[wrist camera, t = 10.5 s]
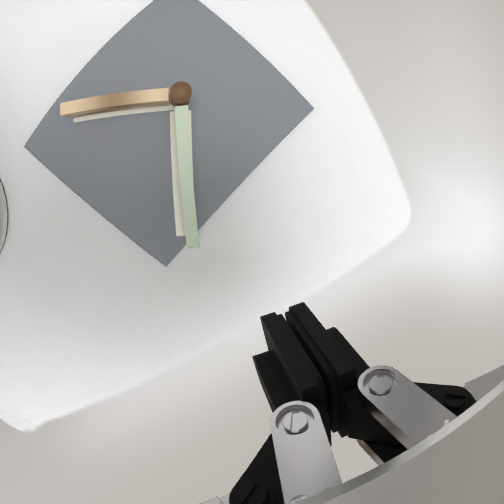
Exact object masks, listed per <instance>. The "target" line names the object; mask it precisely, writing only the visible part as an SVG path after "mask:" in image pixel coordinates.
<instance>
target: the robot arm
mask: <svg viewBox="0 0 504 504" xmlns="http://www.w3.org/2000/svg"><path fill="white" fill-rule="evenodd" d="M6 230H7V206H6V198H5V195H4V191H3V187H2V184H1V182H0V251H1V248H2V246H3V244H4V240H5V236H6ZM285 317H286V320H285V319H284V317H283V315H282V314H279V315H276V313H275V312H273V313H270V314H267V315H264V316H261V317H260V318H261V323H262V327H263V331H264V335H265V339H266V342H267V346H268V350H269V351H267V352H264V353H261V354H258V355H255V356H253V361H254V364H255V367H256V370H257V373H258V376H259V379H260V382H261V385H262V387H263V390H264V392H265V395H266V398H267V400H268V402H269V404H270V407H271V409H272V412H273V414H272V416H271V419H270V427H271V434H270V436H269V437H268V439H267V440H266V442H265V443H264V445H263V446H262V448H261V449H260V451H259V452H258V454H257V455H256V457H255V458H254V459H253V461H252V462H251V464H250V465H249V467H248V468H247V470H246V471H245V472H244V474H243V475H242V476H241V478H240V479H239V481H238V482H237V483H236V485H235V486H234V487H233V489H232V491H231V493H229V494H227V495H225V496H223V497H221V498H218V497H215V498H212V499H210V500H208V501H205V502H203V503H200V504H504V365H503V366H501V367H499V368H497V369H495V370H493V371H491V372H489V373H487V374H484V375H482V376H480V377H478V378H476V379H474V380H471V381H469V382H467V383H465V385H464V387H459V386H451V385H438V384H426V383H416V382H412V381H411V380H409V379H408V378H407V377H406V376H404V375H403V374H402V373H400V372H399V371H398V370H396V369H394V368H393V367H389V366H375V367H371V368H370V367H369V366H368V365H367V364H366V363H365V361H364V360H363V359H362V358H361V357H360V356H359V354H358V353H357V352H356V351H355V350H354V348H353V347H352V346H351V345H350V344H349V343H348V341H347V340H346V339H345V338H344V337H343V335H342V334H341V333H340V332H339V331H338V330H337V329H336V328H335V327H332V328H330V329H327V330H326V329H325V328H324V327H323V326H322V324H321V323H320V322H319V321H318V319H317V318H316V317H315V316H314V314H313V313H312V312H311V311H310V309H309V308H308V307H307V306H306V304H305V303H304V302H302V303H299V304H296V305H294V306H291V307H289V311H288V312H285ZM331 431H332V432H333V433H334V432H336V431H338V433H339V434H340V436H341V437H344V436H347V435H348V437H349V438H353V439H357V442H358V443H359V445H360V446H361V447H362V448H363V449H364V450H365V452H366V453H367V454H368V455H369V456H370V457H371V458H372V459H373V460H374V461H375V462H376V463H377V464H378V465H379V466H378V467H376V468H374V469H372V470H370V471H368V472H366V473H364V474H362V475H360V476H358V477H356V478H354V479H351V480H349V481H347V482H345V483H343V484H342V480H341V478H340V474H339V472H338V468H337V465H336V462H335V459H334V456H333V453H332V450H331Z"/></svg>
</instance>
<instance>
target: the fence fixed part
mask: <svg viewBox="0 0 504 504" xmlns="http://www.w3.org/2000/svg"><path fill="white" fill-rule="evenodd" d="M191 94H192V88H191V86H190V85H189V84H188V83H186V82H183V81H180V82H176V83H175V84H173V85H172V87H171V88H170V94H169V88H159V89H148V90H138V91H130V92H122V93H114V94H107V95H101V96H95V97H89V98H84V99H78V100H73V101H68V102H63V103H60V116H65V117H70V118H76V117H81V116H87V115H93V114H99V113H106V112H113V111H120V110H128V109H137V108H146V107H157V106H169V105H170V98H171V103H172V105H173V106H174V107H175V106H184V105H188V104H189V101H190V98H191Z"/></svg>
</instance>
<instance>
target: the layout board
mask: <svg viewBox="0 0 504 504" xmlns="http://www.w3.org/2000/svg"><path fill="white" fill-rule="evenodd" d="M180 81H183V82H186V83H188V84H189V85H190V86H191V88H192V94H191V98H190V101H189V104H188V113H189V130H190V146H191V160H192V173H193V185H194V197H195V208H196V218H197V228H198V230H199V229H200V228H201V226H202V225H203V224H204V223H205V222H206V221H207V220H208V219H209V218H210V216H211V215H212V214H213V213H214V212H215V211H216V210H217V209H218V208H219V207H220V205H221V204H222V203H223V202H224V201H225V200H226V199H227V198H228V197H229V196H230V195H231V193H232V192H233V191H234V190H235V189H236V188H237V187H238V186H239V185H240V184H241V183H242V182H243V181H244V180H245V178H246V177H247V176H248V175H249V174H250V173H251V172H252V171H253V170H254V169H255V168H256V167H257V166H258V165H259V164H260V163H261V162H262V161H263V160H264V159H265V157H266V156H267V155H268V154H269V153H270V152H271V151H272V150H273V149H274V148H275V147H276V146H277V145H278V144H279V143H280V142H281V141H282V140H283V139H284V138H285V137H286V136H287V135H288V134H289V133H290V132H291V131H292V130H293V129H294V128H295V127H296V126H297V125H298V124H299V123H300V122H301V121H302V120H303V119H304V118H305V117H306V116H307V115H308V114H309V113H310V112H311V111H312V110H313V109H314V108H313V107H312V106H311V105H310V103H309V102H308V101H307V100H306V99H305V98H304V97H303V96H302V95H301V94H300V93H299V92H298V91H297V90H296V88H295V87H294V86H293V85H292V84H291V83H290V82H289V81H288V80H287V79H286V78H285V77H284V76H283V75H282V74H281V73H280V72H279V71H278V70H277V69H276V68H275V67H274V66H273V65H272V64H271V63H270V62H269V61H268V60H267V59H266V58H264V57H263V56H262V55H261V54H260V53H259V52H258V51H257V50H256V49H255V48H254V47H253V46H252V45H251V44H249V43H248V42H247V41H246V40H245V39H244V38H243V37H242V36H241V35H239V34H238V33H237V32H236V31H235V30H234V29H232V28H231V27H230V26H229V25H228V24H227V23H225V22H224V21H223V20H222V19H221V18H219V17H218V16H217V15H216V14H215V13H213V12H212V11H211V10H210V9H208V8H207V7H206V6H205V5H203V4H202V3H201V2H199V1H198V0H154V1H153V2H151V3H150V4H149V5H148V6H146V7H145V8H144V9H143V10H142V11H141V12H139V13H138V14H137V15H136V16H135V17H134V18H133V19H131V20H130V21H129V22H128V23H127V24H126V25H125V26H124V27H123V28H122V29H121V30H120V31H118V32H117V33H116V34H115V35H114V36H113V37H112V38H111V39H110V40H109V41H108V42H107V43H106V44H105V45H104V46H103V47H102V48H101V49H100V50H99V51H98V52H97V54H96V55H95V56H94V57H93V58H92V59H91V60H90V61H89V62H88V63H87V64H86V65H85V67H84V68H83V69H82V70H81V71H80V72H79V73H78V75H77V76H76V77H75V78H74V79H73V80H72V82H71V83H70V84H69V85H68V86H67V88H66V89H65V90H64V91H63V93H62V94H61V95H60V97H59V98H58V99H57V100H56V102H55V103H54V104H53V106H52V107H51V108H50V110H49V111H48V112H47V114H46V115H45V117H44V118H43V119H42V121H41V122H40V124H39V125H38V126H37V128H36V129H35V131H34V132H33V134H32V135H31V137H30V138H29V140H28V142H27V143H26V145H25V146H24V147H25V148H26V149H27V150H28V151H29V152H30V153H31V154H33V155H34V156H35V157H36V158H37V159H38V160H39V161H40V162H41V163H42V164H43V165H45V166H46V167H47V168H48V169H49V170H50V171H51V172H52V173H53V174H54V175H56V176H57V177H58V178H59V179H60V180H61V181H62V182H63V183H65V184H66V185H67V186H68V187H69V188H70V189H71V190H73V191H74V192H75V193H76V194H77V195H78V196H80V197H81V198H82V199H83V200H84V201H85V202H87V203H88V204H89V205H90V206H91V207H92V208H94V209H95V210H96V211H97V212H98V213H100V214H101V215H102V216H103V217H104V218H106V219H107V220H108V221H109V222H110V223H112V224H113V225H114V226H115V227H117V228H118V229H119V230H120V231H121V232H123V233H124V234H125V235H126V236H128V237H129V238H130V239H131V240H133V241H134V242H135V243H136V244H138V245H139V246H140V247H141V248H143V249H144V250H145V251H147V252H148V253H149V254H150V255H152V256H153V257H154V258H155V259H157V260H158V261H159V262H161V263H162V264H163V265H165V266H167V265H168V264H169V263H170V262H171V261H172V259H173V258H174V257H175V256H176V255H177V254H178V253H179V251H180V250H181V249H182V248H183V247H184V246H185V245H186V237H185V228H184V219H183V209H182V199H181V189H180V178H179V166H178V153H177V140H176V124H175V107H174V106H173V105H172V103H171V98H170V105H169V106H157V107H146V108H137V109H128V110H120V111H113V112H106V113H99V114H93V115H87V116H81V117H76V118H70V117H65V116H60V103H63V102H68V101H73V100H78V99H84V98H89V97H95V96H101V95H107V94H114V93H122V92H130V91H138V90H148V89H159V88H169V94H170V88H171V87H172V85H173V84H175V83H176V82H180Z"/></svg>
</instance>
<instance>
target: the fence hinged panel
mask: <svg viewBox="0 0 504 504" xmlns="http://www.w3.org/2000/svg"><path fill="white" fill-rule="evenodd" d="M175 124H176V140H177V153H178V166H179V178H180V189H181V199H182V209H183V219H184V228H185V237H186V245H187V248H193V247H199V238H198V228H197V218H196V208H195V197H194V185H193V173H192V160H191V146H190V130H189V113H188V105H184V106H175Z"/></svg>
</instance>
